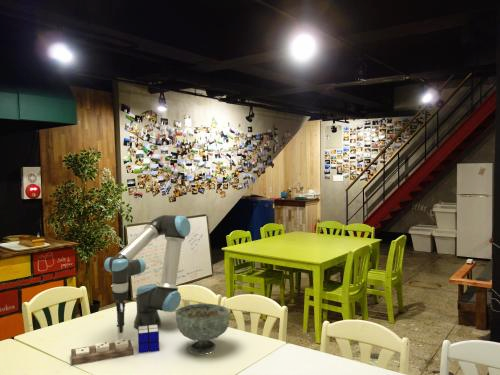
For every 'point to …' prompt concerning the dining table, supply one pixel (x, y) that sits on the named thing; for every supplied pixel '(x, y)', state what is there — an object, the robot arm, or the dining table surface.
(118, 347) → the tile two
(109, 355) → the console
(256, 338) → the dining table surface
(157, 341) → the puzzle cube
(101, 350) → the tile three
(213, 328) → the decorative bowl
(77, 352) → the tile one
